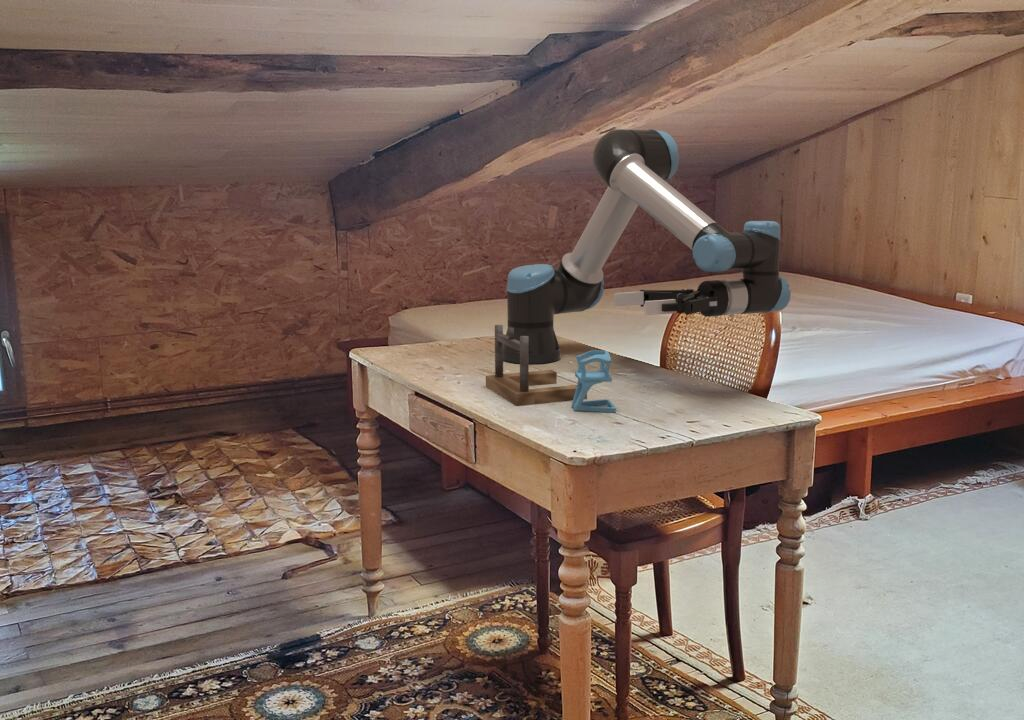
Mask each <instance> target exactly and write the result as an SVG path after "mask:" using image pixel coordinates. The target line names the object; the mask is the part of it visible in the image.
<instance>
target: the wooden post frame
mask: <svg viewBox="0 0 1024 720" xmlns="http://www.w3.org/2000/svg"><path fill="white" fill-rule="evenodd" d="M507 328H508V327H507ZM503 344H505V345H507V346H509V347H511V348H514V349H516V350H518V351H520V363H519V372H513V373H512V372H511V373H504V360H503ZM529 365H530V364H529V343H528V336H520V341H518V340H515V339H514V328H508V336H507V335H506V334H504V325H503V324H494V374H488V375H485V388H487V389H489V390H490V391H492V392H494V393H496V394H497V395H498V396H500V397H502V398H503V399H504V400H506V401H508V402H510V403H512V404H513V405H514V406H516V407H519V406H528V405H529V406H531V405H539V404H546V403H548V404H550V403H559V402H569V401H573V398H574V395H575V392H576V388H577V384H573V385H562V386H561V385H560V386H559V385H558V386H551V387H541V388H529V387H531V386H540V385H550V384H558V382H557V380H558V378H557V377H558V376H557V375H558V374H557V371H555V370H553V369H546V370H534V371H529V369H530V368H529ZM586 399H588V393H587V394H586V396H585V398H584V400H586Z"/></svg>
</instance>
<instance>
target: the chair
mask: <svg viewBox="0 0 1024 720" xmlns="http://www.w3.org/2000/svg"><path fill="white" fill-rule="evenodd" d="M575 359H576V360H577V364H578V365H577V366H578V368H577V371H574V376H575V378H577V384H576V385H577V388H576V392H575V395H574V398H573V400H572V402H571V408H573V411H576V412H577V411H578V412H579V411H580V412H600V413H617V411H616V410H617V407H616V406H615V405H614V404H613V402H612V401H611V399H609V398H604V399H594V400H585V399H584V398H585V396H586V394H587V395H588V392H589V391H590V390H591V388H592V387H593V386H595V385H597V384H600V383H605V382H606V383H607V382H612V381H613V377H612V376H611V375H610V374H609V370H610V369H609V368H610V366H611V360H612V358H611V354H610V352H609V351H607V350H604V349H603V350H598V349H593V350H589V351H586V352H584V353H582V354H579V355H576V356H575ZM594 362H595V363H596V362H598V363H600V370H595V371H594V370H592V371H587V369H586V366H587V365H589V364H590V363H594ZM605 365H606V366H605ZM584 400H585V401H584ZM599 405H600V406H599ZM601 405H607V406H601Z"/></svg>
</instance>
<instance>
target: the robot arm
mask: <svg viewBox="0 0 1024 720" xmlns="http://www.w3.org/2000/svg"><path fill="white" fill-rule="evenodd" d="M674 139H675V138H673V136H671V135H670V134H669V133H668V132H666V131H664V130H656V129H653V128H650V129H647V130H645V129H626V128H625V129H624V128H623V129H621V128H620V129H613V130H610V131H609V132H606V133H605V134H604V135H603V136H601V137H600V139H599V140H597V143H596V144H595V146H594V149H593V152H592V164H593V167H594V170H595V172H596V175H598V178H600V180H601V181H602V182H603V183H604V184H605V185H607V188H606V190H605V192H604V194H603V195H602V196H601V199H600V200H599V203H598V204H597V206H596V208H595V210H594V211H593V214H592V215H591V217H590V219H589V221H588V223H587V225H586V226H585V228H584V230H583V232H582V234H581V235H580V238H579V239H578V241H577V243H576V245H575V246H574V248H573V250H572V252H567V253H565V254H564V255H563V256H562V258H561V260H560V262H559V264H558V266H557V267H555V268H554V267H553V266H552V265H550V264H548V263H547V264H546V263H535V264H527V265H523V266H522V265H521V266H518V267H515V268H513V269H511V270H510V271H509V273H508V275H507V284H506V291H507V293H506V295H507V296H506V299H507V329H506V332H505V335H507V336H508V328H514V339H515V340H518V341H520V336H528V343H529V365H530V364H532V365H534V364H535V365H537V364H546V363H553V362H556V361H559V360H560V359H561V349H560V345H559V341H558V338H557V335H556V332H555V329H554V328H555V327H554V315H560V314H568V313H569V314H570V313H580V312H584V311H586V310H589V309H590V310H591V309H592V308H594V307H596V306H597V305H598V303H599V302H600V301H601V299H602V297H603V294H604V291H605V288H604V285H605V281H604V272H603V267H604V265H605V263H606V261H607V260H608V258H609V257H610V254H611V253H612V251H613V250H614V248H615V247H616V245H617V243H618V241H619V239H620V238H621V236H622V234H623V232H624V231H625V229H626V227H627V226H628V224H629V222H630V221H631V218H632V217H633V215H634V213H635V212H636V210H637V208H638V207H640V208H642V210H644V211H645V212H646V213H647V214H648V215H650V216H651V217H652V218H653V219H654V220H655V221H657V222H658V223H659V224H660V225H661V226H662V227H664V228H665V229H666V230H667V231H669V232H670V233H671V234H672V235H673V236H675V238H677V239H678V240H679V241H681V242H682V243H683V244H684V245H686V247H688V248H689V249H690V250H692V257H693V260H694V262H695V265H696V266H697V268H699V269H700V270H701V271H704V272H710V273H711V272H713V273H720V272H725V271H732V270H733V271H735V270H738V269H742V272H741V273H742V278H728V279H727V278H726V279H725V278H724V279H720V280H718V279H715V280H712V279H711V280H704V281H702V282H701V283H700V284H699V285H698V287H697V289H696V290H695V289H693V288H692V289H690V288H688V289H684V288H683V289H639V291H629V292H628V291H627V292H625V291H624V292H615V293H613V297H614V299H613V305H614V307H625V306H626V307H627V306H628V307H629V306H640V307H641V308H643V307H644V316H654V315H667V314H668V315H669V314H676V313H677V314H679V315H680V314H684V315H687V316H689V315H692V314H697V313H700V314H701V315H702V316H703V317H707V318H710V317H721V316H729V318H734V317H735V315H747V314H762V313H763V314H768V313H773V312H778V311H782V310H784V309H786V308H787V306H788V305H789V303H790V300H791V294H792V293H791V292H792V291H791V289H790V288H789V287H790V284H789V281H788V280H787V279H786V278H785V277H783V276H780V272H779V271H780V257H781V254H780V253H781V244H782V243H781V242H782V239H781V225H780V224H779V222H777V221H774V220H772V221H771V220H750V221H745V223H744V226H743V230H742V231H738V232H730V231H727V230H726V229H725V228H724V227H722V225H720V224H719V223H718V222H716V221H715V220H714V219H712V218H711V217H710V216H709V215H708V214H706V213H705V212H704V211H702V210H701V209H700V208H699V207H698V206H696V205H695V204H694V203H693V202H691V200H689V199H688V198H687V197H685V196H684V195H683V194H682V193H680V192H679V191H678V190H677V189H675V188H674V187H673V186H672V185H671V184H670V183H668V182H667V180H669V179H671V178H673V176H674V175H675V174H676V173H677V171H678V168H679V163H680V154H679V147H678V145H677V143H676V141H675V140H674ZM504 361H505V362H507V363H513V364H520V351H518V350H516V349H514V348H511V347H509V346H507V345H505V344H503V362H504Z"/></svg>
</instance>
